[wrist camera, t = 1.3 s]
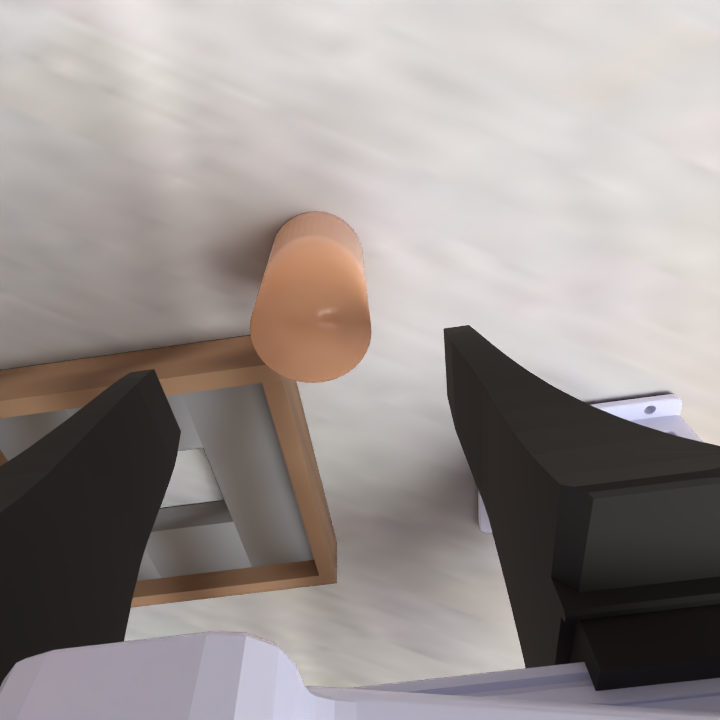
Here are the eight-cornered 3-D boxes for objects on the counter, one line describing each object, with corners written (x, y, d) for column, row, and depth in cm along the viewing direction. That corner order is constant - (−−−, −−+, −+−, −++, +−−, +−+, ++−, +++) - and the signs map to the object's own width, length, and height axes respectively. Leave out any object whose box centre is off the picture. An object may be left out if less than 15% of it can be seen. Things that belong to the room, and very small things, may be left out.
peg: (355, 205, 19) (362, 268, 14) (367, 291, 21) (377, 374, 16) (262, 219, 19) (236, 287, 14) (282, 303, 21) (265, 389, 16)
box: (283, 330, 22) (277, 363, 20) (336, 543, 29) (336, 583, 27) (-36, 375, 22) (-74, 411, 20) (97, 572, 30) (79, 613, 28)
